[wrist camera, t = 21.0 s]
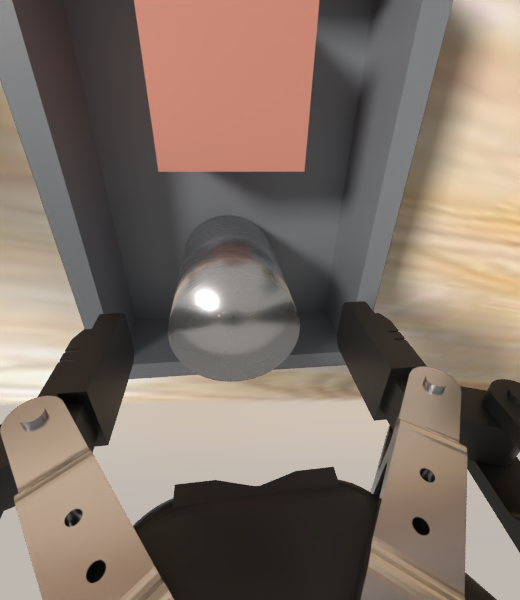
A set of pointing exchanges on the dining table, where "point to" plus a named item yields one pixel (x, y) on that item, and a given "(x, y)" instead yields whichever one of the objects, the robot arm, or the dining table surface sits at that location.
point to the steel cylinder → (231, 303)
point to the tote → (217, 185)
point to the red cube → (228, 82)
